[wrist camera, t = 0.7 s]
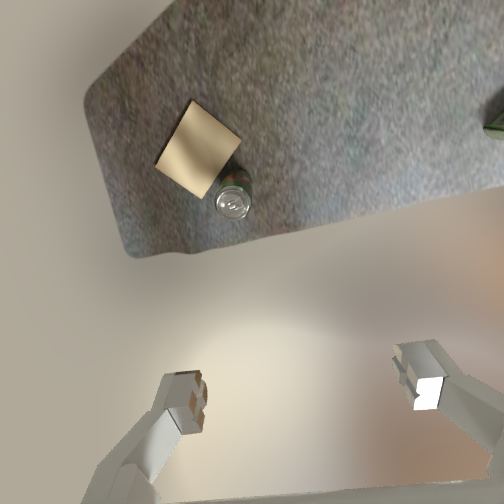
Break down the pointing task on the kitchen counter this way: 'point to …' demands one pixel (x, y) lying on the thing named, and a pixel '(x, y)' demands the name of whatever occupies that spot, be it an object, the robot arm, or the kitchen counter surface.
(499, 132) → the medication box
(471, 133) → the kitchen counter surface
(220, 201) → the soda can
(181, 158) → the cork mat
